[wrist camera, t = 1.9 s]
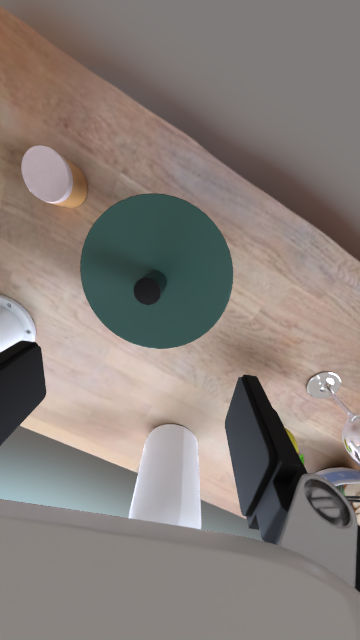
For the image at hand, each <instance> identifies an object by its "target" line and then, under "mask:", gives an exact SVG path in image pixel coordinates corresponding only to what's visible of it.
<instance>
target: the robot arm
mask: <svg viewBox="0 0 360 640" xmlns="http://www.w3.org/2000/svg"><path fill="white" fill-rule="evenodd" d="M35 336H36V331H35V326H34V323H33V321H32V319H31V317H30V315H29V314H28V313H27V311H26V310H25V309H24V308H23V307H22V306H21V305H20V304H18V303H17V302H16V301H14V300H12V299H11V298H9V297H6V296H4V295H0V445H1V444H2V443H3V442H4V441H5V440H6V439H7V438H8V437H9V436H10V435H11V434H12V433H13V431H14V430H15V429H16V428H17V427H18V426H19V425H20V424H21V423H22V422H23V421H24V420H25V419H26V418H27V416H28V415H29V414H30V413H31V412H32V411H33V410H34V409H35V408H36V407H37V406H38V405H39V404H40V403H41V401H42V400H43V399H44V397H45V395H46V386H45V378H44V369H43V361H42V353H41V348H40V346H38V344H37V343H36V342H34V341H35ZM225 429H226V434H227V440H228V445H229V450H230V455H231V461H232V466H233V471H234V477H235V482H236V487H237V493H238V498H239V503H240V508H241V512H242V515H243V516H246V517H247V521H248V527H249V528H251V529H258V530H260V533H261V537H262V540H263V541H259V540H255V539H251V538H247V537H242V536H236V535H231V534H225V533H219V532H213V531H208V530H202V529H196V528H190V527H184V526H177V525H171V524H164V523H158V522H151V521H145V520H138V519H132V518H125V517H119V516H112V515H105V514H99V513H91V512H84V511H78V510H71V509H65V508H57V507H51V506H44V505H37V504H30V503H23V502H16V501H10V500H2V499H0V640H360V526H359V525H358V523H357V517H356V514H355V512H354V509H353V507H352V505H351V504H350V502H349V501H348V499H347V498H346V496H345V495H344V494H343V493H342V492H341V491H340V490H339V489H338V488H337V487H336V486H335V485H333V484H332V483H331V482H330V481H328V480H326V479H325V478H323V477H321V476H319V475H316V474H310V473H307V471H306V469H305V467H304V465H303V463H302V461H301V459H300V457H299V455H298V453H297V451H296V449H295V447H294V445H293V443H292V441H291V439H290V437H289V436H288V434H287V432H286V430H285V428H284V426H283V424H282V422H281V420H280V418H279V416H278V414H277V412H276V411H275V410H274V409H273V408H272V406H271V404H270V402H269V400H268V398H267V396H266V394H265V392H264V390H263V388H262V386H261V384H260V382H259V380H258V378H257V377H256V376H250V375H243V376H242V377H239V378H238V381H237V384H236V387H235V390H234V394H233V397H232V400H231V403H230V406H229V410H228V413H227V416H226V420H225Z"/></svg>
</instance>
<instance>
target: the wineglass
mask: <svg viewBox="0 0 360 640" xmlns="http://www.w3.org/2000/svg"><path fill="white" fill-rule="evenodd" d="M340 386H341V380H340V378H339V377H338V376H337V375H336V374H334V373H331V372H322V373H319V374H317V375H315V376H313V377H312V378H311V379H310V380H309V382H308V384H307V391H308V393H309V394H310V395H311V396H313V397H315V398H327V397H330V396H331V397H332V398H333V399H334V400H335V401H336V403H337V404H338V405H339V406H340V407H341V408H342V409H343V410H344V411H345V413H346V414H347V420H346V422H345V424H344V427H343V430H342V441H343V444H344V447H345V449H346V451H347V453H348V454H349V455H350V457H351V458H352V459H353V460H354V461H355V462H356V463H357V464H358V465H359V466H360V413H354V412H351V411H350V410H349V409H348V408H347V407H346V406H345V404H344V403H343V402H342V401H341V400H340V399H339V398H338V397H337V396H336V395H335V393H336V392H337V391H338V390H339V388H340Z"/></svg>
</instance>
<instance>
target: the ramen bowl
mask: <svg viewBox="0 0 360 640" xmlns="http://www.w3.org/2000/svg"><path fill="white" fill-rule="evenodd" d="M314 474H316V475H319V476H321V477H323V478H325V479H326V480H328V481H330V482H331V483H332V484H333V485H335V486H336V487H337V488H338V489H339V490H340V491H341V492H342V493H343V494H344V495H345V496H346V498H347V499H348V501H349V502H350V504H351V505H352V507H353V509H354V512H355V514H356V517H357V523H358V525H359V526H360V470H355V469H350V468H344V467H338V468H328V469H325V470H321V471H318V472H315V473H314Z"/></svg>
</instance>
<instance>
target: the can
mask: <svg viewBox="0 0 360 640" xmlns="http://www.w3.org/2000/svg"><path fill="white" fill-rule="evenodd" d="M128 518H132V519H138V520H145V521H151V522H158V523H164V524H171V525H177V526H184V527H190V528H196V529H201V504H200V478H199V453H198V442H197V439H196V437H195V435H194V434H193V433H192V432H191V431H190V430H188V429H187V428H185V427H183V426H179V425H175V424H166V425H161V426H158V427H156V428H155V429H153V430H152V431H151V432H150V433H149V434H148V436H147V439H146V441H145V446H144V450H143V455H142V459H141V464H140V468H139V472H138V477H137V482H136V486H135V490H134V495H133V499H132V504H131V508H130V513H129V517H128Z"/></svg>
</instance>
